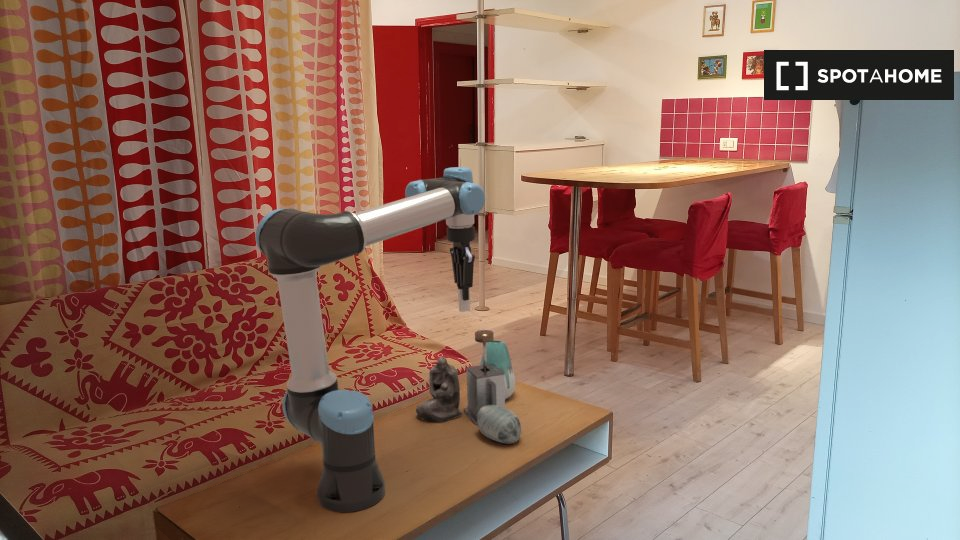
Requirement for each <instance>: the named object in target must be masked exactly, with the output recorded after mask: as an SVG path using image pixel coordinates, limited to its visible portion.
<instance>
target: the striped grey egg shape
mask: <svg viewBox="0 0 960 540" xmlns="http://www.w3.org/2000/svg"><path fill="white" fill-rule="evenodd" d="M477 423H478V425H477V427H478V430H479V432H480V433H481V434H482V435H483V436H485V437H486V438H488V439H490V440H492V441H496V442H497V443H501V444H506V445H507V444H508V445H509V444H516V443H517V442H518V441H519V439H520V437H521V434H522V427H521V421H520V419H519V417H518V416H517V415H516V413H515V412H513V411H512V410H511V409H508V408H507V407H505V408H504V407H501V406H497V405H487V406H484V407H482V408H481V409H480V410H479V412H478V416H477Z"/></svg>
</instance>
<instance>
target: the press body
mask: <svg viewBox="0 0 960 540" xmlns="http://www.w3.org/2000/svg"><path fill="white" fill-rule="evenodd" d="M482 371H483V365H480V364H479V365H474V366H466V394H467V396H466V397H467V400H466V401H467V407H463V412H464V413H465V415H467V417H468V418H469V419H470V420H471V421H472V422H473V423H474V424H475V425H476V426H478V423H477V416H478V412H479V410H480V409H481V408H482V407H484V406H487V405H497V406H501V407H504V408H506V399H505V383H504V372H503V371H502V370H501V369H499V368H498V367H497V366H496V365H495V364H494V363H492V364H487V371H486V372H482Z"/></svg>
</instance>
